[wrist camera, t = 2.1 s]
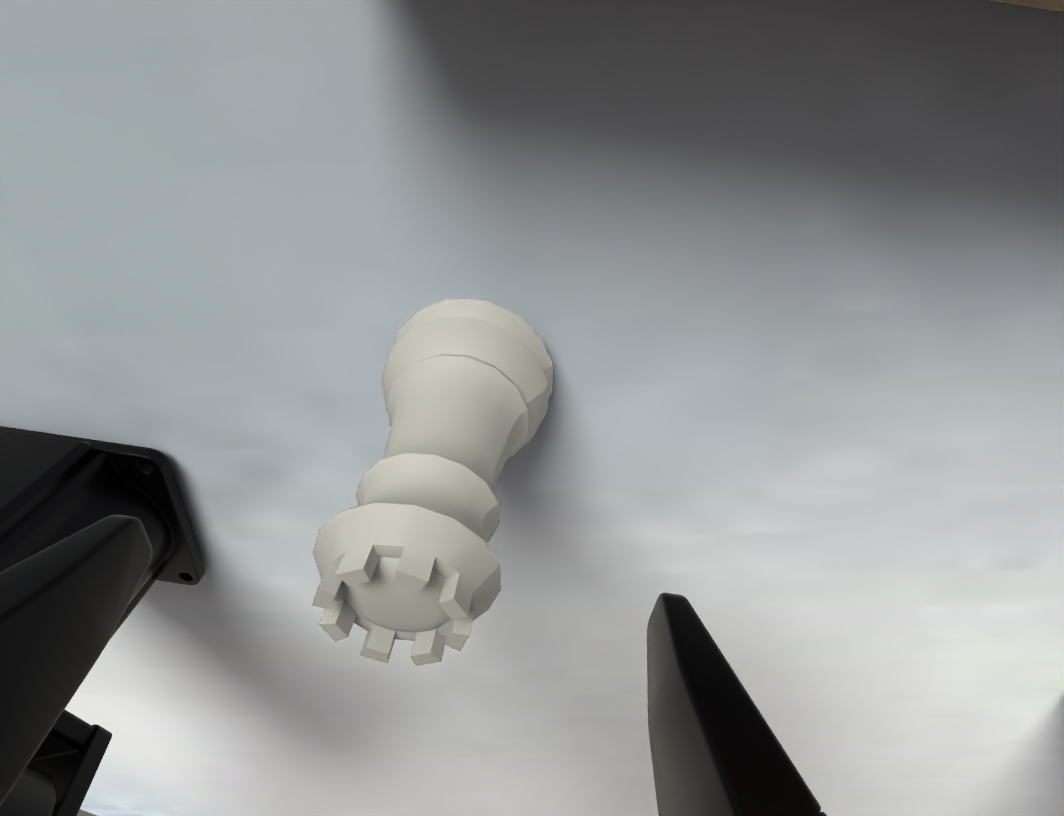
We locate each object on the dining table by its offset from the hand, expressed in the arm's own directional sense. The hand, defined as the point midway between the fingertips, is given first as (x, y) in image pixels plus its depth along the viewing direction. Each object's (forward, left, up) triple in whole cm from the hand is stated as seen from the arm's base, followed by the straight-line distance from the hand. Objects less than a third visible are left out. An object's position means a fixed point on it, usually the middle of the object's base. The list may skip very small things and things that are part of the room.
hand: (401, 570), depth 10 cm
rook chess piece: (0, 0, -7) cm, 7 cm away
